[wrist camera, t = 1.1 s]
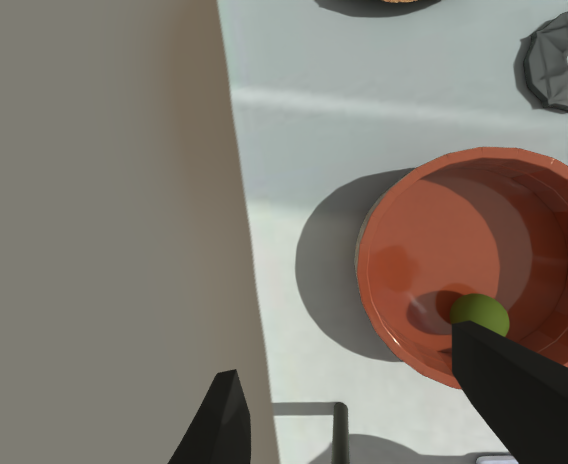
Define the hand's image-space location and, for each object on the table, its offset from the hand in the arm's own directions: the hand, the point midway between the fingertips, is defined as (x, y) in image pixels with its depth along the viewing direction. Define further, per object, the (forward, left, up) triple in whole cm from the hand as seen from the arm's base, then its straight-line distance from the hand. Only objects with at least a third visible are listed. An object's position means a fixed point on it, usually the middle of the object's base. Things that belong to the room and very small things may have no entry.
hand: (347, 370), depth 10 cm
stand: (-9, +2, -12) cm, 15 cm away
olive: (-2, -8, -10) cm, 13 cm away
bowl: (+1, -8, -12) cm, 14 cm away
